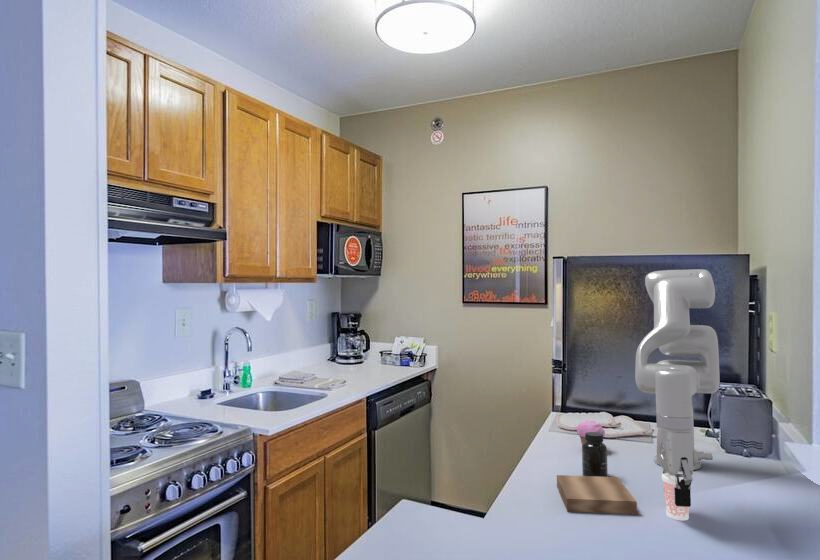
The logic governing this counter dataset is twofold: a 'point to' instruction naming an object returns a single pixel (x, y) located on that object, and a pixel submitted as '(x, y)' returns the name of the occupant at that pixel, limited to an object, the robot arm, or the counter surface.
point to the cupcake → (589, 429)
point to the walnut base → (595, 494)
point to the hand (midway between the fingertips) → (677, 499)
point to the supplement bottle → (594, 455)
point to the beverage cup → (673, 499)
